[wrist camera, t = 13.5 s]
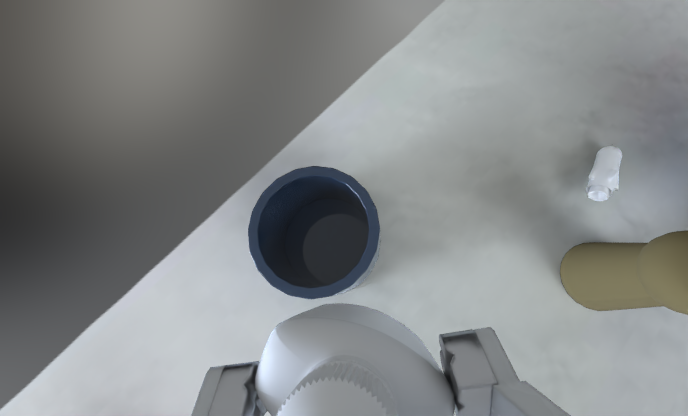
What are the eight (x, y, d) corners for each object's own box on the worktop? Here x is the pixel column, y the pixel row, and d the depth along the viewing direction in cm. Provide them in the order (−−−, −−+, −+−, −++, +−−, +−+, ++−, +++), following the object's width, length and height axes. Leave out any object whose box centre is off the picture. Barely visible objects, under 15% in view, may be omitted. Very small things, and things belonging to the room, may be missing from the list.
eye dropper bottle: (358, 270, 17) (305, 243, 5) (438, 358, 15) (605, 586, 4) (296, 329, 17) (92, 438, 5) (371, 424, 15) (335, 882, 4)
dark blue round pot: (370, 185, 33) (366, 155, 26) (388, 285, 31) (390, 286, 23) (275, 202, 34) (243, 178, 26) (285, 302, 32) (253, 308, 24)
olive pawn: (601, 230, 30) (722, 200, 19) (649, 288, 28) (810, 291, 18) (545, 263, 30) (636, 252, 19) (591, 324, 28) (717, 349, 18)
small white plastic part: (636, 170, 31) (663, 158, 28) (587, 209, 30) (610, 201, 27) (605, 143, 32) (629, 129, 28) (558, 180, 31) (577, 169, 28)
